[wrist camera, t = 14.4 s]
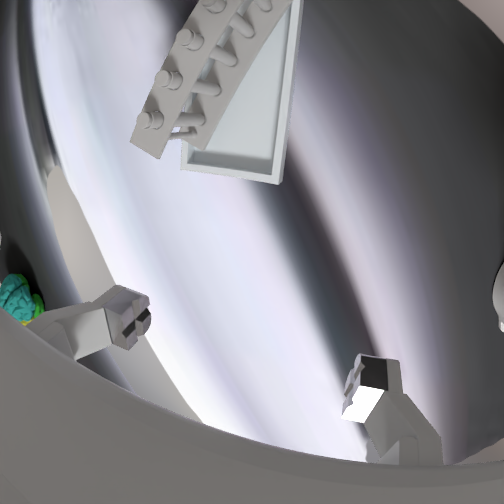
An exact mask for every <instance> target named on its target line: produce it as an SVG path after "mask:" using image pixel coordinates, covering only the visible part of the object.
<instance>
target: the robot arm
mask: <svg viewBox="0 0 504 504" xmlns="http://www.w3.org/2000/svg"><path fill="white" fill-rule="evenodd" d="M493 304H494V308H495V310H496V312H497V314H498V316H499V328H500V330H501V331H502V332H504V263H503V265H502V266H501V268H500V270H499V272H498V274H497V277H496V280H495V283H494V288H493ZM149 305H150V303H149V297H148V296H146V295H144V294H142V293H139V292H136V291H134V290H131V289H129V288H126V287H123V286H121V285H115V286H113V287H112V288H111V289H109V290H108V291H107V292H105V293H104V294H103V295H101V296H100V297H99V298H98V299H96V300H95V301H94V302H86V303H81V304H77V305H73V306H68V307H64V308H60V309H55V310H51V311H47V312H43V313H42V314H40V315H39V316H38V317H36V318H35V319H34V320H32V321H31V322H30V323H28V324H27V325H26V326H24V325H23V324H22V323H20V322H19V321H18V320H16V319H15V318H14V317H13V316H11V315H10V314H9V313H8V312H7V311H5V310H4V309H3V308H2V307H1V306H0V504H504V460H501V461H494V462H486V463H477V464H464V465H444V466H443V453H442V443H441V437H440V436H439V434H438V433H437V432H436V431H435V429H434V428H433V427H432V426H431V424H430V423H429V422H428V420H427V419H426V418H425V417H424V415H423V414H422V413H421V412H420V410H419V409H418V408H417V407H416V405H415V404H414V403H413V402H412V400H411V399H410V398H409V397H408V395H407V394H403V389H402V379H401V371H400V363H399V361H398V360H393V359H387V358H385V359H384V358H379V357H374V356H368V355H363V354H359V355H358V356H357V358H356V360H355V368H354V369H352V370H351V371H350V373H349V376H348V378H347V382H346V385H345V392H344V395H345V396H346V399H345V401H344V403H343V410H342V418H344V419H349V420H354V421H359V422H364V423H363V424H364V426H365V428H366V430H367V432H368V434H369V436H370V438H371V440H372V442H373V444H374V445H375V448H376V450H377V452H378V454H379V456H380V458H381V459H380V460H379V461H378V462H377V463H366V462H358V461H350V460H342V459H336V458H330V457H324V456H318V455H313V454H308V453H303V452H298V451H294V450H289V449H285V448H281V447H277V446H273V445H269V444H265V443H261V442H258V441H254V440H251V439H247V438H244V437H241V436H238V435H234V434H231V433H228V432H225V431H222V430H219V429H216V428H214V427H211V426H208V425H205V424H202V423H200V422H197V421H195V420H192V419H189V418H187V417H184V416H182V415H179V414H177V413H175V412H172V411H170V410H168V409H165V408H163V407H161V406H159V405H156V404H154V403H152V402H150V401H148V400H145V399H143V398H141V397H139V396H137V395H135V394H133V393H131V392H129V391H127V390H125V389H123V388H122V387H120V386H118V385H116V384H114V383H112V382H110V381H109V380H107V379H105V378H103V377H101V376H100V375H98V374H96V373H94V372H93V371H91V370H89V369H88V368H86V367H84V366H83V365H81V364H79V363H78V362H76V360H77V359H79V358H81V357H84V356H86V355H89V354H91V353H93V352H96V351H98V350H100V349H103V348H105V347H108V346H110V345H112V344H114V345H117V346H119V347H121V348H123V349H126V350H130V349H131V348H132V347H133V346H134V344H135V343H136V342H137V341H138V336H140V335H144V334H145V333H146V331H147V330H148V328H149V326H150V324H151V313H150V312H149V310H148V308H147V307H148V306H149Z"/></svg>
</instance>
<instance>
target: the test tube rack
mask: <svg viewBox="0 0 504 504" xmlns="http://www.w3.org/2000/svg"><path fill="white" fill-rule="evenodd" d="M292 1H293V0H253V1H252V2H251V4H250V5H249V7H248V8H247V10H246V11H245V13H244V14H243V16H241V15H240V14H239V13H238V12H237V11H238V9H239V8H240V6H241V5H242V3H243V2H244V0H225V1H224V0H199V2H198V3H197V5H196V6H195V8H194V10H193V11H192V13H191V15H190V16H189V18H188V20H187V21H186V23H185V25H184V26H183V28H182V30H181V31H179V32H178V34H177V35H176V41H175V42H174V44H173V46H172V48H171V50H170V52H169V54H168V56H167V58H166V60H165V62H164V63H163V65H162V68H161V70H160V71H159V72H158V73H157V74H156V76H155V82H154V84H153V86H152V89H151V91H150V93H149V95H148V98H147V100H146V102H145V104H144V107H143V109H142V112H141V113H140V114H139V115H138V117H137V124H136V126H135V129H134V132H133V134H132V137H131V140H130V142H131V143H132V144H134V145H135V146H137V147H139V148H140V149H142V150H144V151H145V152H147V153H148V154H150V155H152V156H153V157H155V158H157V159H160V158H161V155H162V153H163V151H164V148H165V146H166V144H167V141H168V140H172V139H183V140H184V141H186V142H188V143H189V144H191V145H193V146H195V147H196V148H198V149H200V150H201V151H204V150H205V149H206V147H207V145H208V143H209V141H210V139H211V137H212V135H213V133H214V131H215V129H216V127H217V125H218V123H219V122H220V120H221V118H222V116H223V114H224V112H225V110H226V108H227V107H228V105H229V103H230V101H231V99H232V98H233V96H234V94H235V92H236V90H237V89H238V87H239V85H240V83H241V82H242V80H243V78H244V77H245V75H246V73H247V71H248V70H249V68H250V66H251V65H252V63H253V61H254V60H255V58H256V56H257V55H258V53H259V52H260V50H261V48H262V47H263V45H264V44H265V42H266V40H267V39H268V37H269V36H270V34H271V33H272V31H273V29H274V28H275V26H276V25H277V23H278V22H279V20H280V19H281V17H282V16H283V14H284V13H285V11H286V10H287V9H288V7H289V6H290V4H291V3H292ZM209 10H210V11H211V12H210V11H209ZM228 25H230V26H231V27H232V28H233V29H234V30H233V32H232V33H231V35H230V37H229V38H228V40H227V42H226V43H225V45H224V47H223V48H222V47H221V46H219V45H217V43H218V41H219V40H220V38H221V36H222V35H223V33H224V31H225V30H226V28H227V27H228ZM199 34H200V35H199ZM201 35H202V36H201ZM190 49H191V50H190ZM193 50H194V51H193ZM209 57H210V58H212V59H214V60H215V62H214V64H213V66H212V68H211V69H210V71H209V73H208V75H207V77H206V79H205V80H202V79H199V78H198V77H199V75H200V73H201V71H202V70H203V68H204V66H205V64H206V62H207V61H208V59H209ZM176 72H178V73H176ZM173 89H175V90H173ZM191 92H194V93H198V94H197V96H196V98H195V100H194V102H193V104H192V106H191V108H190V110H189V112H188V113H186V112H181V111H182V109H183V107H184V105H185V103H186V101H187V99H188V96H189V95H190V93H191ZM155 111H159V112H155ZM174 127H181V128H180V130H179V132H176V133H171V132H172V130H173V128H174ZM156 128H158V129H156Z"/></svg>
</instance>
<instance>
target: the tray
mask: <svg viewBox="0 0 504 504" xmlns="http://www.w3.org/2000/svg"><path fill="white" fill-rule="evenodd" d="M224 1H225V0H224ZM252 1H253V0H244V2H243V3H242V5H241V6H240V8H239V9H238V11H237V12H238V13H239V14H240V15H241V16H243V14H244V13H245V11H246V10H247V8H248V7H249V5H250V4H251V2H252ZM303 3H304V0H293V1H292V3H291V4H290V6H289V7H288V9H287V10H286V11H285V13H284V14H283V16H282V17H281V19H280V20H279V22H278V23H277V25H276V26H275V28H274V29H273V31H272V33H271V34H270V36H269V37H268V39H267V40H266V42H265V44H264V45H263V47H262V48H261V50H260V52H259V53H258V55H257V56H256V58H255V60H254V61H253V63H252V65H251V66H250V68H249V70H248V71H247V73H246V75H245V77H244V78H243V80H242V82H241V83H240V85H239V87H238V89H237V90H236V92H235V94H234V96H233V98H232V99H231V101H230V103H229V105H228V107H227V108H226V110H225V112H224V114H223V116H222V118H221V120H220V122H219V123H218V125H217V127H216V129H215V131H214V133H213V135H212V137H211V139H210V141H209V143H208V145H207V147H206V149H205V150H204V151H201V150H200V149H198V148H196V147H195V146H193V145H191V144H189V143H188V142H186V141H184V140H183V139H182V150H181V168H180V170H186V171H194V172H201V173H209V174H216V175H223V176H229V177H236V178H242V179H249V180H255V181H261V182H266V183H272V184H279V183H281V182H282V178H283V171H284V164H285V156H286V149H287V141H288V133H289V125H290V117H291V109H292V101H293V93H294V85H295V76H296V68H297V59H298V50H299V41H300V32H301V23H302V13H303ZM209 11H210V10H209ZM210 12H211V11H210ZM233 30H234V29H233V28H232V27H231V26H230V25H228V27H227V28H226V30H225V31H224V33H223V35H222V36H221V38H220V40H219V41H218V43H217V45H219V46H221V47H222V48H223V47H224V45H225V43H226V42H227V40H228V38H229V37H230V35H231V33H232V32H233ZM199 35H200V34H199ZM201 36H202V35H201ZM193 51H194V50H193ZM214 62H215V60H214V59H212V58H210V57H209V59H208V61H207V62H206V64H205V66H204V68H203V70H202V71H201V73H200V75H199V77H198V78H199V79H202V80H205V79H206V77H207V75H208V73H209V71H210V69H211V68H212V66H213V64H214ZM197 94H198V93H194V92H191V93H190V95H189V96H188V99H187V101H186V103H185V110H184V112H186V113H188V112H189V110H190V108H191V106H192V104H193V102H194V100H195V98H196V96H197Z"/></svg>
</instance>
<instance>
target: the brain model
mask: <svg viewBox="0 0 504 504" xmlns="http://www.w3.org/2000/svg"><path fill="white" fill-rule="evenodd" d="M0 306H1V307H2V308H3V309H4V310H5V311H7V312H8V313H9V314H10V315H11V316H13V317H14V318H15V319H16V320H18V321H19V322H20V323H22V324H23V325H24V326H26V325H27V324H28V323H30V322H31V321H32V320H34V319H35V318H36V317H38V316H39V315H40V314H42V313H43V312H45V310H44V304H43V301H42V299H41V298H40V296H39V295H38V294H33V295H32V296H31V294H30V287H29V285H28V281H27V279H26V278H25V277H24V276H23V275H21V274H10V275H8V276H7V277H6V278H5V279H4V281H3V283H2V285H1V287H0Z"/></svg>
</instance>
